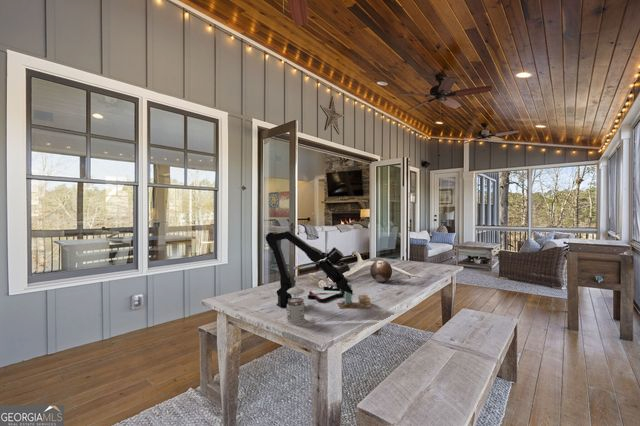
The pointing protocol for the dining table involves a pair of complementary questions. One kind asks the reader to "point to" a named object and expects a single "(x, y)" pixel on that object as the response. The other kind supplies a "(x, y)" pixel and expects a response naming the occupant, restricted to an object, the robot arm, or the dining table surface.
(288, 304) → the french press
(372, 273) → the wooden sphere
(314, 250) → the robot arm
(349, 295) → the plank
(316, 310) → the dining table surface
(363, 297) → the rack
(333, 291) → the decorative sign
